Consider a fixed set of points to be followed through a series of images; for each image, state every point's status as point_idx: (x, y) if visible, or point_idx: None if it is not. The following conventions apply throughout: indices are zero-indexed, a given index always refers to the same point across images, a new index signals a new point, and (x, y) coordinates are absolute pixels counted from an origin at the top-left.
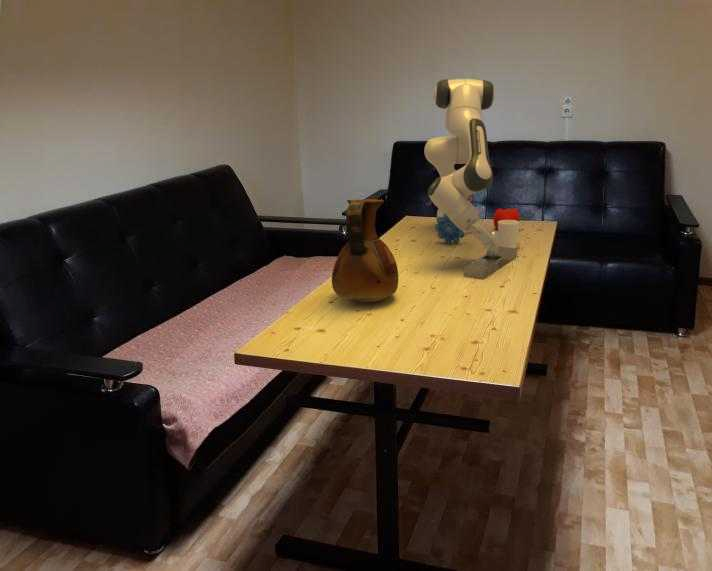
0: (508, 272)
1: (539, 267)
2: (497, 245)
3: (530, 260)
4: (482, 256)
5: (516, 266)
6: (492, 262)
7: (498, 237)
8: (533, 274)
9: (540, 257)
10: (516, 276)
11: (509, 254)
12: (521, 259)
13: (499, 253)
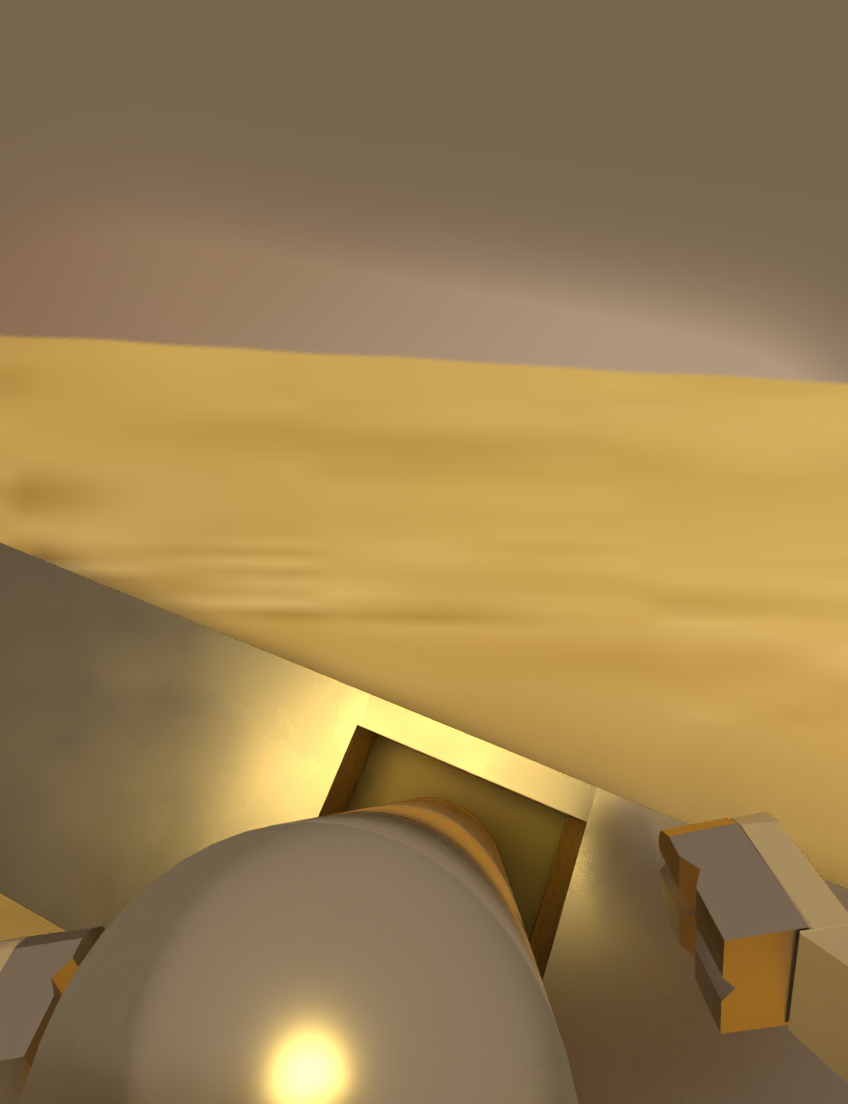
0: (689, 664)
1: (430, 373)
2: (696, 840)
3: (181, 440)
4: None
5: (416, 573)
6: None
7: (387, 816)
8: (696, 423)
9: (82, 361)
10: (833, 581)
11: (196, 624)
12: (136, 519)
13: (173, 764)
